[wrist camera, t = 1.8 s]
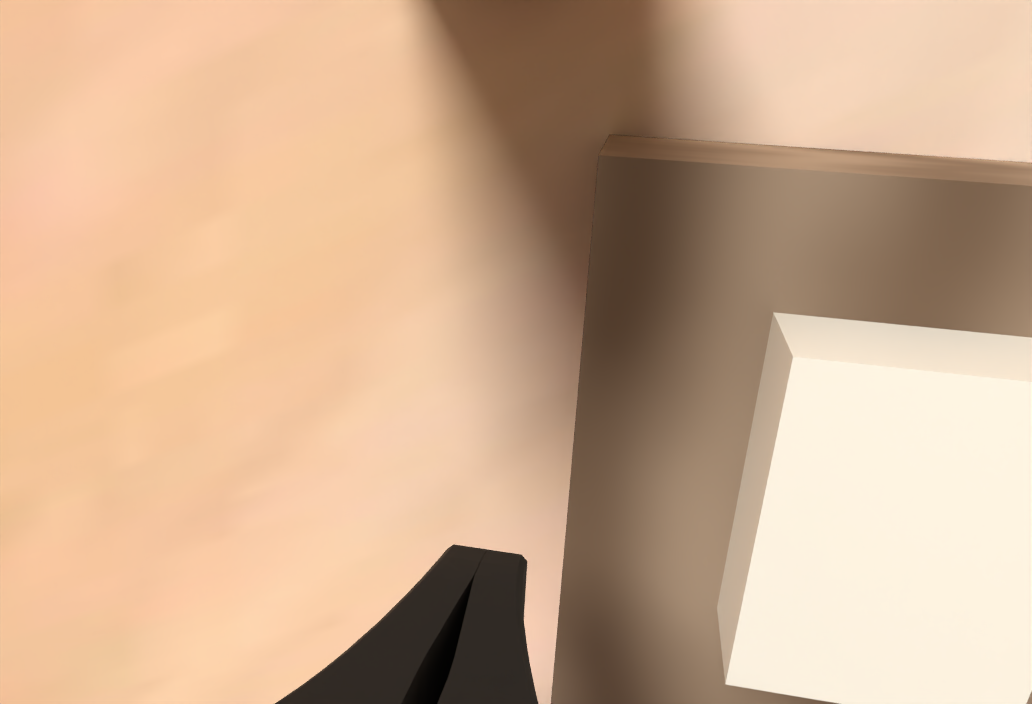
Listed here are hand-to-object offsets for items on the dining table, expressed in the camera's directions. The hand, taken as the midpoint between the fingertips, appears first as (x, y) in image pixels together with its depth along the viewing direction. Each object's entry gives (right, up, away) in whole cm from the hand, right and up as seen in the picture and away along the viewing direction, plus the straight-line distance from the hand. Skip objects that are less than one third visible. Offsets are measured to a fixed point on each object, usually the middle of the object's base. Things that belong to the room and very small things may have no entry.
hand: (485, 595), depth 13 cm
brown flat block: (+9, +2, +8) cm, 12 cm away
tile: (+9, +1, +3) cm, 9 cm away
